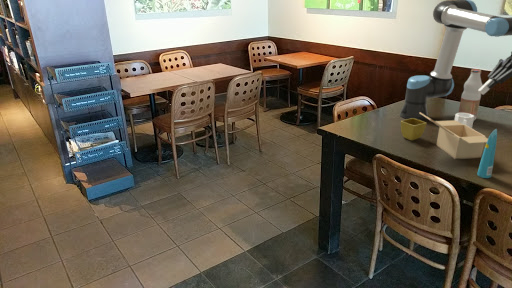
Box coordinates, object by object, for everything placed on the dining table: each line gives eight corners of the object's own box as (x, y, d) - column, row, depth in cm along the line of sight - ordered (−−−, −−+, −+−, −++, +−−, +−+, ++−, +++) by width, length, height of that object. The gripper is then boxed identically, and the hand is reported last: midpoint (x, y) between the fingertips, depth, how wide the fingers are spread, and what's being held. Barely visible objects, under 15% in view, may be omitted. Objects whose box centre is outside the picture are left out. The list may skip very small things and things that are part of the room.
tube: (479, 170, 155) (489, 127, 148) (492, 174, 152) (503, 129, 145) (474, 177, 150) (485, 132, 143) (488, 181, 147) (499, 135, 140)
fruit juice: (460, 120, 213) (469, 71, 203) (455, 115, 222) (464, 68, 211) (478, 121, 212) (489, 71, 201) (472, 116, 220) (482, 68, 210)
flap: (441, 127, 174) (419, 113, 171) (442, 126, 174) (420, 112, 171) (453, 135, 165) (430, 120, 162) (454, 134, 165) (431, 119, 161)
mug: (451, 129, 201) (455, 112, 197) (469, 131, 197) (473, 113, 194) (453, 137, 190) (456, 118, 187) (472, 139, 187) (476, 120, 184)
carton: (430, 140, 187) (433, 121, 183) (453, 139, 187) (457, 120, 184) (463, 165, 161) (467, 142, 157) (489, 163, 161) (495, 141, 157)
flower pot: (411, 142, 185) (414, 125, 181) (398, 137, 192) (400, 120, 188) (424, 139, 188) (427, 122, 185) (410, 134, 196) (412, 117, 192)
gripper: (510, 42, 164) (467, 83, 170) (532, 47, 152) (485, 91, 158) (519, 53, 166) (476, 93, 172) (542, 59, 154) (494, 102, 160)
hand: (480, 92), depth 165 cm, fingers closed
